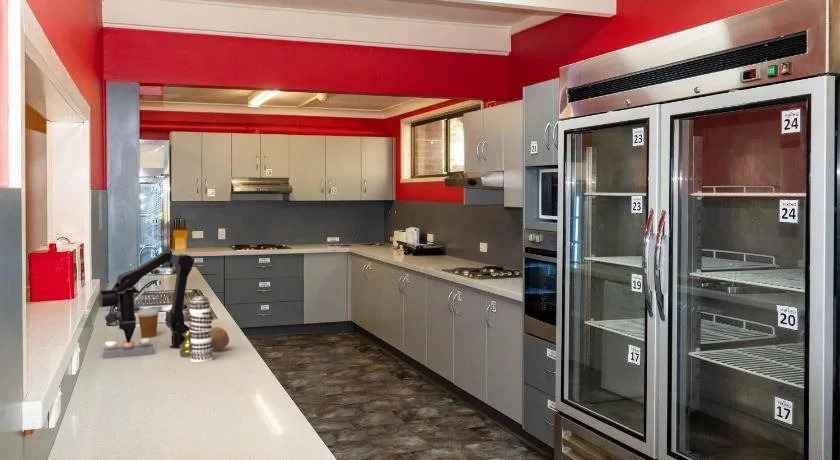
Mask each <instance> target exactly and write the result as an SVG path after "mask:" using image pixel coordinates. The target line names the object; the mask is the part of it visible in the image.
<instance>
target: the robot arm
mask: <svg viewBox="0 0 840 460" xmlns="http://www.w3.org/2000/svg"><path fill="white" fill-rule="evenodd" d="M166 263H171V264H175V265H174V269H175V273H176V274H175V275H176V277H175V283H174V291H173V295H172V296H173V297H172V304H171V308H170V310H169V311H168V310H166V311H165V318H164V322H165V325H166V327H167V328H168V329H170V331H171V345H170V346H169V348H173V349H180V344H182V343H183V342H184V341H185V337H184V336H183V335H182V334H183V333H184V332H186V331H190V329H189V327H190V326H188V325H187V324H186V323H185V315H184V314H185V313H184V311H183V310H184V301H185V295H186V289H187V284H188V283H187V282H188V278H189V275H190V273H191V271H192V270H193V269H192V268H193V266H194V264H195V263H194V258H193V257H192V256H191V255H188V254H185V253H184V254H183V253H182V254H178V255H177V254H174V253H170V252H167V251H166V252H165V251H161V252H160V253H159V254H158V255H157V256H155V257H153V258H151V259H150V260H148V261H146V262H145V263H143V264H141V265H140V266H138V267H137V268H134V269H132V270H129V271H126V272H123V273H120V274H119V275H118V276H117V279H116V283H115V284H114V286H112V288H111V289H101V290H99V295H98V305H99V307H100V308H106V307H107V308H108V307H116V306H117V305H119V306H118V310H116V311H114V312H110V313H108V314H107V315H104V319H105V321H106V323H107V325H110V324H112V323H114V322H117V321H119V322H118V329H119V330H123V333H124V335H125V340H126V341H127V343H128V342H130V341H132V339H133V335H134V331H135V330H136V327H137V326H136V322H137V321H136V320H137V319H136V314H135V313H136V312H135V311H136V310H135V308H136V307H135V294H139V293H140V291H139V290H138V289H136V287H135V285H137V284H138V283H139V282H140V280H141V279H142V278H143V277H145V276H146V275H148V274H150V273H152V272H153V271H154V270H156V269H158V268H160V267H161V266H162V265H164V264H166Z"/></svg>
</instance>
